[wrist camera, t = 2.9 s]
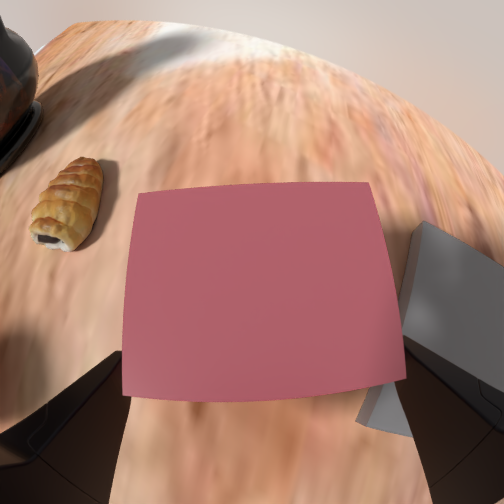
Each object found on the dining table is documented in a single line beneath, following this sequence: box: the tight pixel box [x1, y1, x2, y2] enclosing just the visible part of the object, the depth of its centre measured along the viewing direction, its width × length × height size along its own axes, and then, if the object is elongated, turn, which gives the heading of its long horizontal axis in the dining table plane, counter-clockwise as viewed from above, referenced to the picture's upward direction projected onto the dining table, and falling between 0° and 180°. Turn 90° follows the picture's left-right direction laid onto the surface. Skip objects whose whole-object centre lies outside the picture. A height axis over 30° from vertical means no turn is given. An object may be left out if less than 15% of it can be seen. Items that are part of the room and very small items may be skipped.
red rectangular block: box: [122, 182, 406, 402], centre depth 11 cm, size 4×6×13 cm
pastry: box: [29, 157, 103, 252], centre depth 20 cm, size 9×7×4 cm
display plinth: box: [356, 221, 504, 437], centre depth 15 cm, size 15×15×2 cm
